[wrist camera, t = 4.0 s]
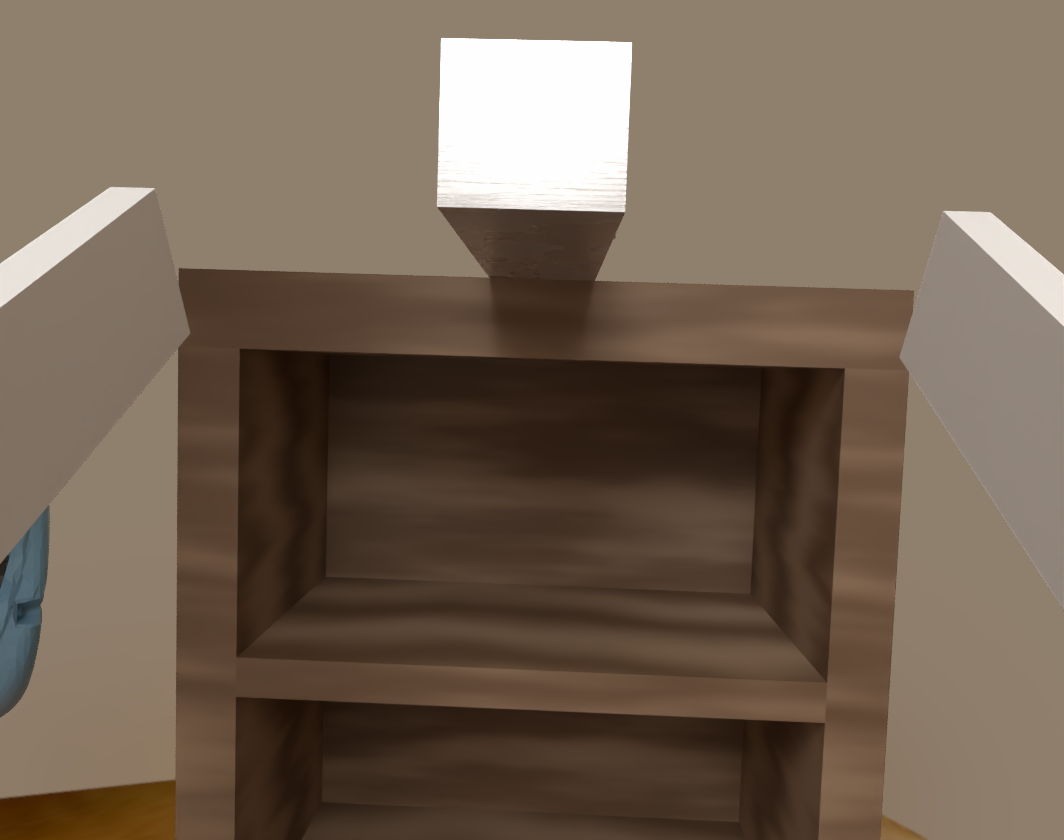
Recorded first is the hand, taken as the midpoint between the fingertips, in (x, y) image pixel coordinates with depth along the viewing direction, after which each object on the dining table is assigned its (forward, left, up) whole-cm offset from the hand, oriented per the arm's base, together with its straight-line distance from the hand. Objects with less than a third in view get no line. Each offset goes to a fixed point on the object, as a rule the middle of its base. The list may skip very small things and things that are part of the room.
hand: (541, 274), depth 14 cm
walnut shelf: (-12, +21, -28) cm, 37 cm away
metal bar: (-9, +16, +2) cm, 19 cm away
